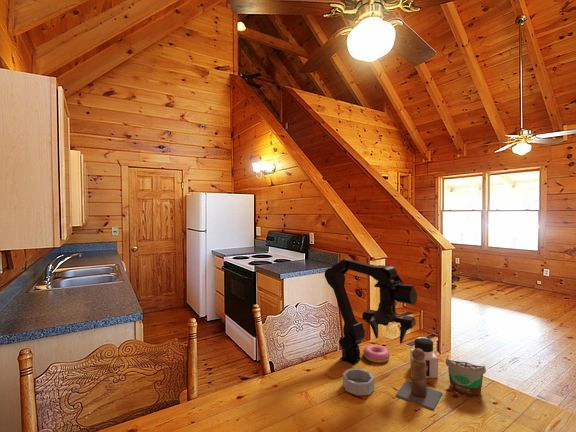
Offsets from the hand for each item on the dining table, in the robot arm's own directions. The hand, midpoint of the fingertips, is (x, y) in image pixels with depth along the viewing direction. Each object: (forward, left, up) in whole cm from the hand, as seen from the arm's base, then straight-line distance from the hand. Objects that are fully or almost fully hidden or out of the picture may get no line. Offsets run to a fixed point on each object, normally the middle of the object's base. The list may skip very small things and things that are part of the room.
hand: (388, 341), depth 118 cm
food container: (+25, +5, -13) cm, 29 cm away
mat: (+13, -6, -13) cm, 19 cm away
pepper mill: (+13, -6, -13) cm, 19 cm away
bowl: (-5, -15, -13) cm, 20 cm away
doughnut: (-9, +10, -14) cm, 19 cm away
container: (+10, +10, -13) cm, 19 cm away
